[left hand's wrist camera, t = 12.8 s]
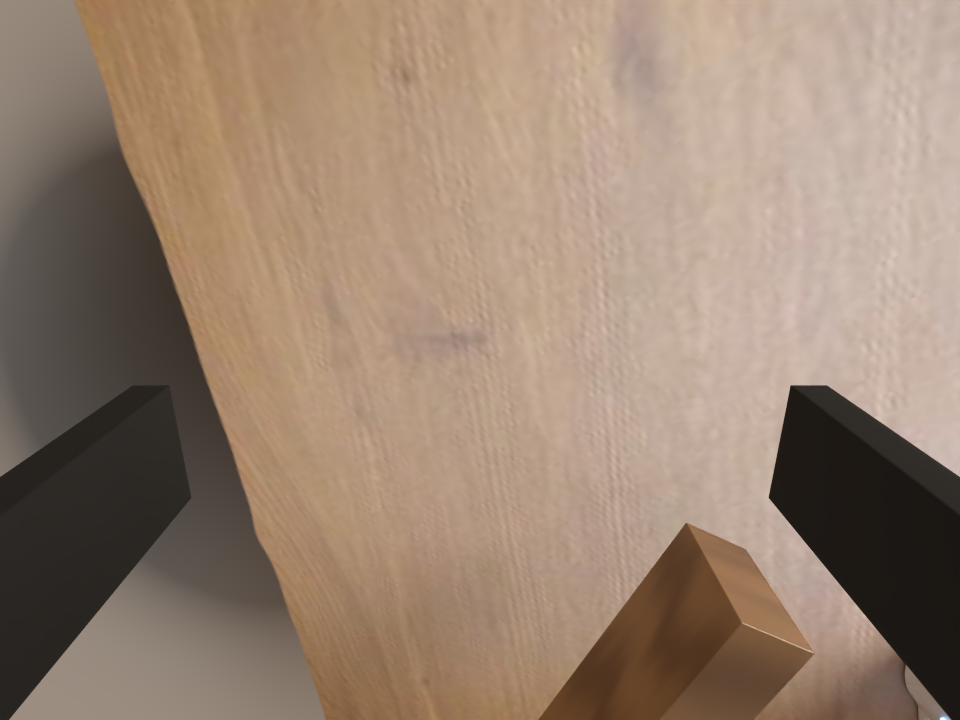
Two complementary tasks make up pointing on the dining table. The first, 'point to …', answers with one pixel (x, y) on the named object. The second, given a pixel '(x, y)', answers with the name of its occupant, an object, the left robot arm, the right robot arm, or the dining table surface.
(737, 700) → the bar
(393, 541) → the dining table surface
